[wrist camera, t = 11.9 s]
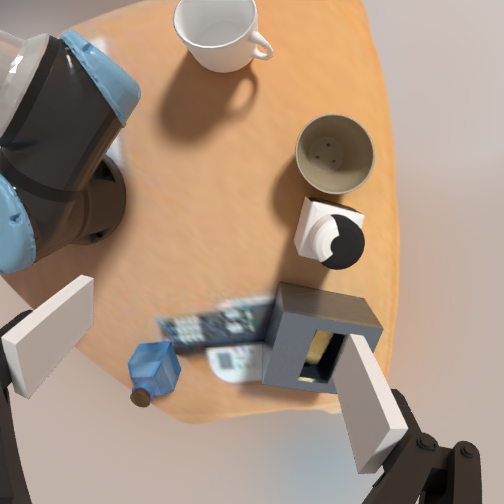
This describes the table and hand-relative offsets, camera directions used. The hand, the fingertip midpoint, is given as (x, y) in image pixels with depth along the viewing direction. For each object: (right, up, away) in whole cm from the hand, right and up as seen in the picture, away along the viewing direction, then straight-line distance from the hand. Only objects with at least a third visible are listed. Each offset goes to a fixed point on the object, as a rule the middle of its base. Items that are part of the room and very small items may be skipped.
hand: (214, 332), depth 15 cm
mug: (-1, +33, +25) cm, 41 cm away
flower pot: (+12, +18, +29) cm, 36 cm away
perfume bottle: (-15, -15, +39) cm, 44 cm away
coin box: (+12, -8, +36) cm, 39 cm away
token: (+11, -8, +36) cm, 38 cm away
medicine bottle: (+12, +8, +32) cm, 35 cm away
